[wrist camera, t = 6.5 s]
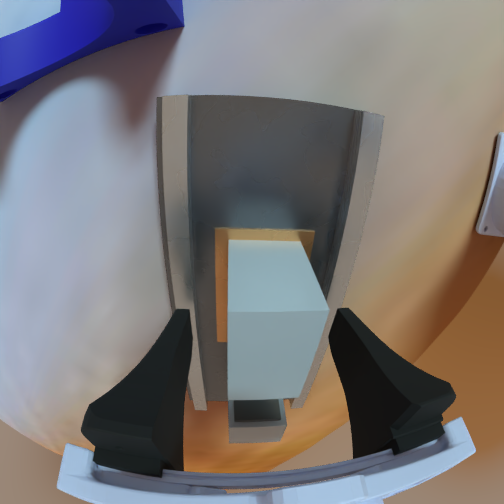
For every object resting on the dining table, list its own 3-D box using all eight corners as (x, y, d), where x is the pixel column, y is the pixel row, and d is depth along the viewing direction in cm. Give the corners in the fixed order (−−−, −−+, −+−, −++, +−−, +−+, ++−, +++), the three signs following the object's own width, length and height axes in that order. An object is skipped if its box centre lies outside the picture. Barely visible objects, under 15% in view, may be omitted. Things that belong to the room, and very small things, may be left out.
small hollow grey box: (277, 361, 19) (287, 423, 14) (272, 385, 20) (279, 441, 16) (227, 362, 18) (228, 425, 14) (227, 386, 20) (229, 443, 16)
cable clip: (180, -39, 7) (153, -98, 2) (184, 27, 9) (151, -19, 4) (2, 42, 7) (-63, 44, 2) (4, 101, 9) (-66, 119, 4)
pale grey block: (300, 241, 14) (329, 310, 9) (284, 331, 17) (297, 400, 13) (228, 239, 13) (227, 311, 9) (227, 331, 17) (228, 402, 12)
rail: (368, 113, 12) (393, 118, 10) (302, 384, 23) (307, 406, 21) (164, 97, 11) (150, 97, 9) (191, 385, 22) (189, 409, 20)
